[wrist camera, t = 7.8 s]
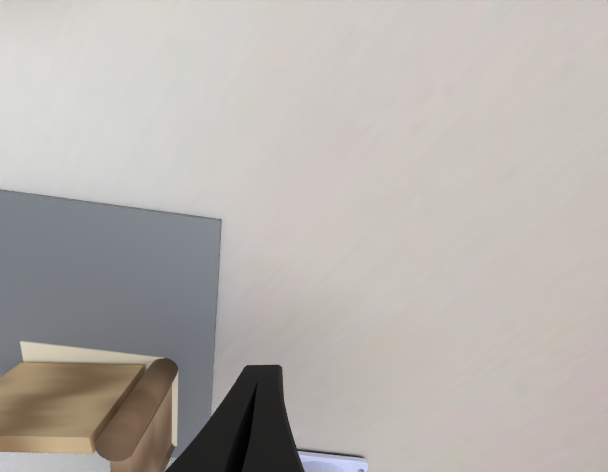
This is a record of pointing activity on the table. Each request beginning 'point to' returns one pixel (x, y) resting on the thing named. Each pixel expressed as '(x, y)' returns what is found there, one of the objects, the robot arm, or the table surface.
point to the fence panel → (61, 405)
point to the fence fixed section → (142, 424)
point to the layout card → (111, 293)
